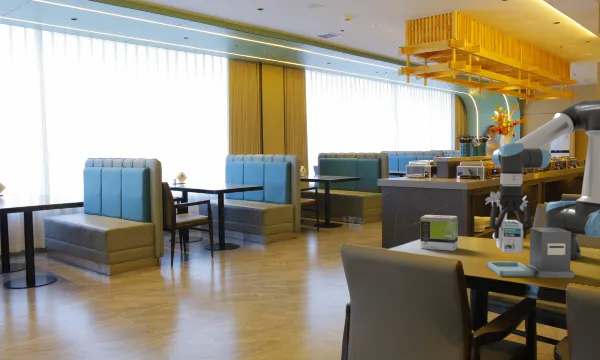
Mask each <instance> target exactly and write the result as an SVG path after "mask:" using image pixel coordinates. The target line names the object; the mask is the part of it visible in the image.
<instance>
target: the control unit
mask: <svg viewBox="0 0 600 360" xmlns="http://www.w3.org/2000/svg"><path fill="white" fill-rule="evenodd" d="M529 233H530V234H529V238H530V239H529V264H525V266H527V267H528V268H530V269H532V270H534V271H535V277H538V278H540V279H543V278H544V279H545V278H546V279H563V278H564V279H574V278H575V271H572V270H571V259H570V255H571V232H569V231H566V230H563V229H561V228H546V227H532V228H529Z"/></svg>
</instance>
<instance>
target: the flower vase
mask: <svg viewBox="0 0 600 360" xmlns="http://www.w3.org/2000/svg"><path fill="white" fill-rule="evenodd" d="M499 198H500V190H499V191H497V192H495V191H494V192H493V191H490V194H489V196H488V197H486V198H485V201H486V202H485V205H488V204H489V203H491V201H497V200H499ZM526 198H527V195H525V196H523V197H522V199H523V201H526ZM498 207H499V211H500V210H501V208H502V206H501V205H500V203H499V205H498ZM519 208H520V210H521V212H524V206H523V203H522V205H521V206H520V207H519ZM503 220H508V212H507V213H506V214H505V217H504V219H503ZM492 239H493V240H494V241H495V244H496V245H497V239H496V238H495V237H494V233H492Z"/></svg>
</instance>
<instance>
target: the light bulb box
mask: <svg viewBox="0 0 600 360" xmlns="http://www.w3.org/2000/svg"><path fill="white" fill-rule="evenodd" d="M500 230H502V233H501V248H499V250H500V251H501V252H502V253H509V254H510V253H511V254H523V248H522V237H523V224H522V223H520V222H518V219H507V220H503V222H502V224H501V226H500Z"/></svg>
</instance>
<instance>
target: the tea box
mask: <svg viewBox="0 0 600 360" xmlns="http://www.w3.org/2000/svg"><path fill="white" fill-rule="evenodd" d="M458 218H459V217H458V215H437V214H436V215H435V214H425V215H423V216H421V217H420V218H419V220H420V233H419V234H420V249H424V250H425V249H426V250H438V251H452V252H454V251H456V249H458V243H459V242H458V241H459V239H458V238H459V237H458V236H459V235H458V233H459V232H458V231H459V230H458V229H459V227H458V225H459V223H458V222H459V221H458Z"/></svg>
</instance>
